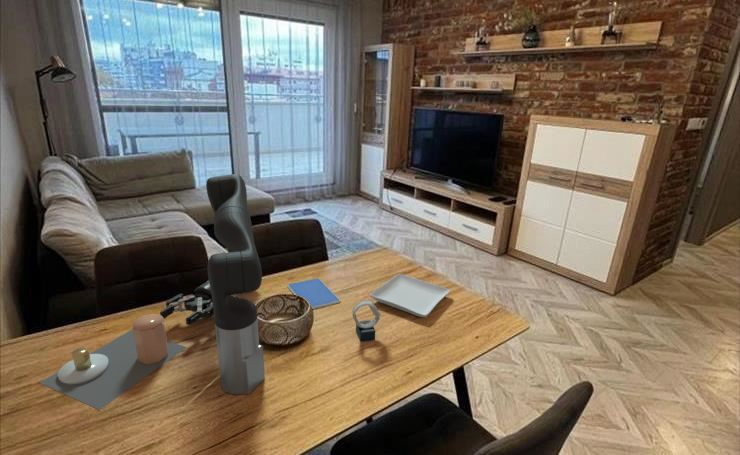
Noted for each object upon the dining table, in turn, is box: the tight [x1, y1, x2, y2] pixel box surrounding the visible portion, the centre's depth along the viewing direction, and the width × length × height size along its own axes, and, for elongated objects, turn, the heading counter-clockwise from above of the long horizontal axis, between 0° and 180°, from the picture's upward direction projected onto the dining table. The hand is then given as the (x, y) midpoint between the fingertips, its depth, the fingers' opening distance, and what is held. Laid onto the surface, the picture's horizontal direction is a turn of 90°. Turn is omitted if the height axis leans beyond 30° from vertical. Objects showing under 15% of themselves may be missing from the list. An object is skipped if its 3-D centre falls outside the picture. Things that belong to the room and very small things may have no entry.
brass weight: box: [71, 346, 92, 371], centre depth 95 cm, size 3×3×4 cm
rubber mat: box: [39, 328, 188, 411], centre depth 98 cm, size 20×24×1 cm
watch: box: [352, 299, 381, 343], centre depth 113 cm, size 6×8×11 cm
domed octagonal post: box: [132, 313, 168, 364], centre depth 100 cm, size 7×7×10 cm
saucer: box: [57, 353, 109, 385], centre depth 95 cm, size 10×10×1 cm
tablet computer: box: [286, 277, 341, 310], centre depth 137 cm, size 19×13×1 cm, turn 30°
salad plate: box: [369, 273, 451, 318], centre depth 135 cm, size 21×21×3 cm
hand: (174, 319), depth 107 cm, fingers open, 8 cm apart
